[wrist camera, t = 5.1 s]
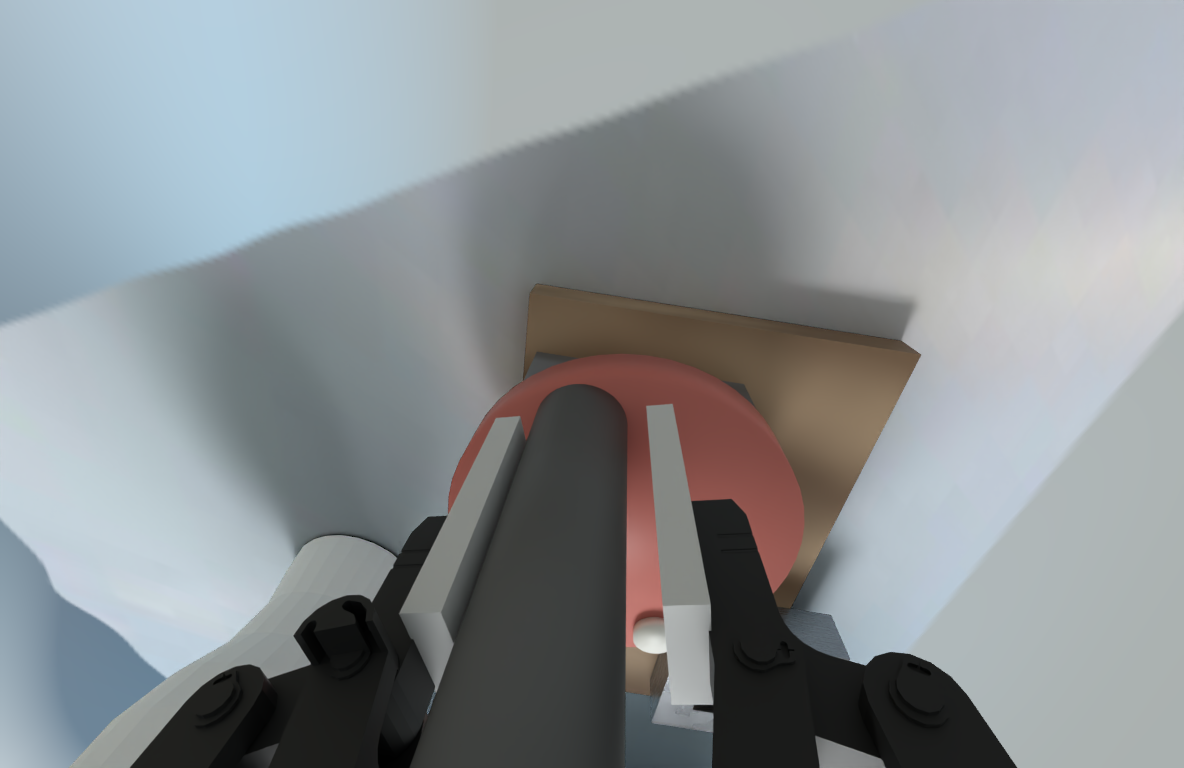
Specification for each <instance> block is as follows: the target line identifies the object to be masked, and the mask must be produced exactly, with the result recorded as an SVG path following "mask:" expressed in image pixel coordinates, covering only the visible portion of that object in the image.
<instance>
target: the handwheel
mask: <svg viewBox="0 0 1184 768" xmlns="http://www.w3.org/2000/svg"><path fill="white" fill-rule="evenodd" d="M664 404H673V408H674V413H675V419H676V424H677V429H678V435H679V440H680V445H681V450H682V456H683V461H684V466H685V471H686V477H687V482H688V487H689V493H690V498H691V501H701V500H719V499H732V500H733V501H734V502H735V503H736V504H737V505H738V506H739V507H740V508H741V509H742V510H743V511H744V512H745V513H746V515H747V518H748V521H749V524H750V527H751V530H752V533H753V536H754V539H755V542H756V545H757V548H758V552H759V554H760V556H761V559H762V562H763V565H764V568H765V571H766V574H767V577H768V580H769V583H770V586H771V589H772V592H773V593H774V592H775V591H776V590H777V589H778V587H779V586H780V585H781V583H782V582H783V581H784V579H785V578H786V577H787V575H788V574H789V572H790V570H791V568H792V566H793V564H794V562H795V561H796V558H797V555H798V552H799V549H800V546H801V544H802V538H803V531H804V504H803V500H802V495H801V490H800V487H799V484H798V482H797V479H796V477H795V475H794V472H793V470H792V468H791V466H790V464H789V462H788V460H787V458H786V456H785V454H784V452H783V450H782V448H781V446H780V444H779V442H778V440H777V438H776V437H775V435H774V433H773V432H772V430H771V428H770V427H769V425H768V424H767V422H766V420H765V419H764V418H763V417H762V415H761V414H760V413H759V412H758V411H757V410H756V408H755V407H754V406H753V405H752V404H751V403H750V402H749V401H748V400H747V399H745V398H744V397H743V396H742V395H741V394H740V393H738V392H737V391H736V390H735V389H733V388H732V387H730V386H729V385H727V384H726V383H724V382H722V381H721V380H719V379H718V378H716V377H714V376H712V375H710V374H708V373H706V372H703V371H701V370H699V369H697V368H695V367H692V366H689V365H686V364H683V363H679V362H676V361H673V360H669V359H664V358H659V357H653V356H648V355H635V354H608V355H595V356H590V357H584V358H579V359H574V360H570V361H567V362H564V363H561V364H558V365H554V366H551V367H549V368H547V369H545V370H543V371H541V372H538V373H536V374H534V375H532V376H530V377H529V378H527V379H526V380H524V381H522V382H521V383H519V384H518V385H516V386H515V387H513V388H512V389H511V390H510V391H509V392H507V393H506V394H505V395H504V396H503V397H502V398H500V399H499V400H498V401H497V402H496V404H495V405H494V406H493V407H492V408H491V409H490V411H489V412H488V413H487V414H486V416H485V417H484V419H483V420H482V422H481V424H480V425H479V427H478V429H477V430H476V432H475V434H474V436H473V437H472V439H471V441H470V443H469V445H468V446H467V448H466V450H465V452H464V454H463V456H462V457H461V459H460V461H459V463H458V466H457V468H456V471H455V473H454V476H453V478H452V483H451V487H450V492H449V501H448V514H449V512H450V510H451V508H452V506H453V504H454V502H455V500H456V498H457V496H458V494H459V492H460V490H461V488H462V486H463V483H464V481H465V479H466V477H467V475H468V473H469V471H470V469H471V467H472V465H473V463H474V461H475V459H476V457H477V455H478V453H479V451H480V449H481V447H482V445H483V443H484V441H485V439H486V437H487V435H488V433H489V431H490V429H491V427H492V425H493V423H494V421H495V419H496V418H502V417H515V416H520V417H521V421H522V425H523V430H524V434H525V438H526V444H525V446H524V449H523V452H522V455H521V458H520V460H519V463H518V466H517V469H516V471H515V474H514V477H513V480H512V483H511V485H510V488H509V491H508V494H507V497H506V499H505V502H504V505H503V508H502V511H501V513H500V516H499V519H498V522H497V525H496V527H495V530H494V533H493V536H492V539H491V541H490V544H489V547H488V550H487V553H486V555H485V558H484V561H483V564H482V567H481V569H480V572H479V575H478V578H477V581H476V583H475V586H474V589H473V592H472V595H471V597H470V600H469V603H468V606H467V608H466V611H465V614H464V617H463V620H462V622H461V625H460V628H459V631H458V634H457V636H456V639H455V642H454V645H453V648H452V650H451V653H450V656H449V659H448V662H447V664H446V667H445V670H444V673H443V676H442V678H441V681H440V684H439V687H438V690H437V692H436V695H435V698H434V701H433V704H432V706H431V709H430V712H429V715H428V718H427V720H426V723H425V726H424V729H423V732H422V734H421V737H420V740H419V743H418V745H417V748H416V751H415V754H414V757H413V759H412V762H411V765H410V768H625V691H626V647H637V648H639V649H640V650H642V651H644V652H647V653H653V654H660V653H665V652H667V649H666V637H665V626H664V615H663V604H662V592H661V580H660V567H659V555H658V543H657V531H656V519H655V507H654V494H653V482H652V470H651V458H650V446H649V434H648V421H647V409H646V406H652V405H664Z"/></svg>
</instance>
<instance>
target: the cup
mask: <svg viewBox="0 0 1184 768" xmlns="http://www.w3.org/2000/svg"><path fill="white" fill-rule="evenodd" d="M396 559H397V558H396V557H395V556H394V555H393V554H392V553H390V552H389V551H387V550H385V549H384V548H382V547H380V546H378V545H376V544H375V543H372V542H369V541H366V540H363V539H360V538H356V537H350V536H344V535H333V536H324V537H320V538H317V539H313V540H312V541H310V542H309V543H307V544H306V545H304V546H303V547H302V549H301V550H300V552H299V553H298V555H297V556H296V558H295V559H294V561H293V562H292V564H291V566H290V567H289V569H288V570H287V572H286V573H285V575H284V577H283V579H282V580H281V582H280V584H279V586H278V587H277V589H276V591H275V593H274V594H273V596H272V598H271V600H270V601H269V603H268V604H267V605H266V606H265V607H264V608H263V609H262V610H261V611H260V612H259V613H258V614H257V615H256V616H255V617H254V618H253V619H252V620H251V621H250V622H249V623H248V624H247V625H246V626H245V627H244V628H243V629H242V630H241V631H240V632H239V633H238V634H237V635H236V636H235V637H233V638H232V639H231V640H230V641H229V642H228V643H226V644H224V645H223V646H221V647H219V648H217V649H216V650H214V651H212V652H210V653H209V654H207V655H205V656H203V657H202V658H200V659H198V660H196V661H195V662H193V663H191V664H189V665H188V666H186V667H184V668H183V669H181V670H179V671H178V672H176V673H174V674H173V675H171V676H170V677H169V678H167V679H166V680H165V681H164V682H162V683H161V684H160V685H158V686H157V687H156V688H154V689H153V690H152V691H150V692H149V693H148V694H147V695H145V696H144V697H143V698H141V699H140V700H139V701H137V702H136V703H135V704H133V705H132V706H131V707H130V708H128V709H127V710H126V711H124V712H123V713H122V714H120V715H119V716H118V717H116V718H115V719H114V720H113V721H111V722H110V724H109V725H108V726H107V727H106V728H105V729H104V730H103V731H102V732H101V733H100V735H99V736H98V737H97V738H96V739H95V740H94V741H93V742H92V743H91V744H90V745H89V746H88V748H87V749H86V750H85V751H84V752H83V753H82V754H81V755H80V756H79V757H78V758H77V760H76V761H75V762H74V763H73V764H72V765H71V766H70V767H69V768H130V767H131V765H132V764H133V763H134V762H135V761H136V760H137V758H138V757H139V756H140V755H141V754H142V752H143V751H144V750H145V749H146V748H147V747H148V745H149V744H150V743H151V742H152V741H153V740H154V738H155V737H156V736H157V735H158V734H159V732H160V731H161V730H162V729H163V728H164V727H165V725H166V724H167V723H168V722H169V721H170V719H171V718H172V717H173V716H174V715H175V714H176V712H177V711H178V710H179V709H180V708H181V706H182V705H183V704H184V703H185V702H186V701H187V700H188V699H189V698H190V697H191V696H192V695H193V694H194V693H195V692H196V691H197V690H198V689H199V688H200V687H201V686H202V685H204V684H205V683H207V682H208V681H209V680H211V679H212V678H214V677H215V676H217V675H218V674H220V673H222V672H224V671H226V670H229V669H231V668H233V667H235V666H241V665H248V664H251V665H254V666H257V667H260V669H261V670H262V671H263V673H264V674H265V676H266V677H267V678H268V679H269V678H272V677H275V676H278V675H281V674H284V673H287V672H290V671H293V670H296V669H299V668H302V667H305V666H308V665H310V664H311V663H310V661H309V660H308V658H307V657H306V655H305V654H304V652H303V650H302V649H301V647H300V646H299V644H298V643H297V641H296V640H295V638H294V636H293V635H294V634H295V632H296V631H297V630H298V628H299V627H300V625H301V624H302V622H303V621H304V620H305V619H307V618H308V617H309V616H310V615H311V614H312V613H313V612H314V611H315V610H316V609H318V608H320V607H321V606H323V605H325V604H326V603H328V602H330V601H332V600H334V599H337V598H340V597H343V596H346V595H362V596H364V597H366V598H369V599H370V600H371V602H372V601H373V600H374V598H375V596H376V594H377V592H378V591H379V589H380V587H381V585H382V584H383V582H384V580H385V578H386V577H387V575H388V573H389V571H390V570H391V569H393V564H394V563H395V561H396Z"/></svg>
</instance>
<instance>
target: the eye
mask: <svg viewBox="0 0 1184 768" xmlns="http://www.w3.org/2000/svg"><path fill="white" fill-rule="evenodd" d="M778 610H779V613H780V615H781V617H782V619H783V621H784V623H785V624H786V625H787V627H788V628H789V629H790V630H791V632H792V633H793V634H794V635H795V636H797V637H798V638H799V639H800V640H801V641H802V642H803V643H805V644H807V645H808V646H810V647H812V648H813V649H815V650H817V651H820V652H822V653H825V654H828V655H830V656H834V657H837V658H841V659H844V660H848V661H849V660H850V658H849V655H848V653H847V651H846V649H845V646H844V644H843V642H842V639H841V637H840V635H839V632H838V630H837V628H836V626H835V623H834V621H833V619H832V616H831V615H827V614H821V613H815V612H809V611H802V610H796V609H790V608H783V607H778ZM650 702H651V723H655V724H661V725H667V726H673V727H680V728H686V729H692V730H699V731H705V732H711V733H713V709H714V705H672V704H671V693H670V682H669V671H668V660H667V652H665V653H660V654H658V657H657V660H656V663H655V666H654V669H653V672H652V674H651V677H650Z"/></svg>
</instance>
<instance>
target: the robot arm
mask: <svg viewBox="0 0 1184 768" xmlns="http://www.w3.org/2000/svg"><path fill="white" fill-rule="evenodd" d="M646 409H647V421H648V434H649V446H650V458H651V470H652V482H653V494H654V507H655V519H656V531H657V543H658V555H659V567H660V580H661V592H662V604H663V615H664V626H665V637H666V649H667V660H668V671H669V682H670V693H671V704H672V705H714V709H713V753H712V768H1017V767H1016V765H1015V764H1014V762H1013V761H1012V760H1011V758H1010V757H1009V755H1008V754H1007V752H1006V751H1005V749H1004V748H1003V747H1002V745H1001V743H1000V742H999V741H998V739H997V738H996V736H995V735H994V733H993V732H992V730H991V729H990V727H989V726H988V725H987V723H986V722H985V720H984V719H983V717H982V716H981V714H980V713H979V711H978V710H977V708H976V707H975V706H974V704H973V703H972V701H971V700H970V698H969V697H968V696H967V694H966V693H965V692H964V691H963V690H962V689H961V687H960V686H959V685H958V684H957V683H956V682H955V681H954V680H953V679H952V678H951V676H949V675H948V674H946V673H945V672H943V671H942V670H941V669H939V668H938V667H936V666H935V665H934V664H932V663H931V662H928V661H925V660H923V659H920V658H918V657H916V656H913V655H911V654H904V653H895V652H889V653H885V654H881V655H878V656H875V657H874V658H873V659H872V660H871V661H870V662H869V663H868V664H867V665H866V666H865V665H862V664H858V663H855V662H851V661H848V660H844V659H841V658H837V657H834V656H830V655H828V654H825V653H822V652H820V651H817V650H815V649H813V648H812V647H810V646H808V645H807V644H805V643H803V642H802V641H801V640H800V639H799V638H798V637H797V636H795V635H794V634H793V633H792V632H791V630H790V629H789V628H788V627H787V625H786V624H785V623H784V621H783V619H782V617H781V615H780V613H779V610H778V607H777V604H776V601H775V598H774V595H773V592H772V589H771V586H770V583H769V580H768V577H767V574H766V571H765V568H764V565H763V562H762V559H761V556H760V554H759V552H758V548H757V545H756V542H755V539H754V536H753V533H752V530H751V527H750V524H749V521H748V518H747V515H746V513H745V512H744V511H743V510H742V509H741V508H740V507H739V506H738V505H737V504H736V503H735V502H734V501H733V500H732V499H719V500H701V501H691V498H690V493H689V487H688V482H687V477H686V471H685V466H684V461H683V456H682V450H681V445H680V440H679V435H678V429H677V424H676V419H675V413H674V408H673V404H664V405H652V406H646ZM525 444H526V438H525V434H524V430H523V425H522V421H521V417H520V416H515V417H502V418H496V419H495V421H494V423H493V425H492V427H491V429H490V431H489V433H488V435H487V437H486V439H485V441H484V443H483V445H482V447H481V449H480V451H479V453H478V455H477V457H476V459H475V461H474V463H473V465H472V467H471V469H470V471H469V473H468V475H467V477H466V479H465V481H464V483H463V486H462V488H461V490H460V492H459V494H458V496H457V498H456V500H455V502H454V504H453V506H452V508H451V510H450V512H449V514H448V516H436V517H427V518H426V519H425V520H424V521H423V522H422V523H421V524H420V525H419V526H418V527H417V528H416V529H415V530H414V531H413V532H412V533H411V534H410V536H409V538H408V540H407V541H406V543H405V545H404V547H403V549H402V550H401V551H402V553H401V554H399V556H398V557H397V559H396V561H395V563H394V564H393V569H391V570H390V571H389V573H388V575H387V577H386V578H385V580H384V582H383V584H382V585H381V587H380V589H379V591H378V592H377V594H376V596H375V598H374V600H373V601H372V602H371V600H370V599H369V598H366V597H364V596H362V595H346V596H343V597H340V598H337V599H334V600H332V601H330V602H328V603H326V604H325V605H323V606H321V607H320V608H318V609H316V610H315V611H314V612H313V613H312V614H311V615H310V616H309V617H308V618H307V619H305V620H304V621H303V622H302V624H301V625H300V627H299V628H298V630H297V631H296V632H295V634H294V635H293V636H294V638H295V640H296V641H297V643H298V644H299V646H300V647H301V649H302V650H303V652H304V654H305V655H306V657H307V658H308V660H309V661H310V663H311V664H310V665H308V666H305V667H302V668H299V669H296V670H293V671H290V672H287V673H284V674H281V675H278V676H275V677H272V678H269V679H268V678H267V677H266V676H265V674H264V673H263V671H262V670H261V669H260V667H257V666H254V665H251V664H248V665H241V666H235V667H233V668H231V669H229V670H226V671H224V672H222V673H220V674H218V675H217V676H215V677H214V678H212V679H211V680H209V681H208V682H207V683H205V684H204V685H202V686H201V687H200V688H199V689H198V690H197V691H196V692H195V693H194V694H193V695H192V696H191V697H190V698H189V699H188V700H187V701H186V702H185V703H184V704H183V705H182V706H181V708H180V709H179V710H178V711H177V712H176V714H175V715H174V716H173V717H172V718H171V719H170V721H169V722H168V723H167V724H166V725H165V727H164V728H163V729H162V730H161V731H160V732H159V734H158V735H157V736H156V737H155V738H154V740H153V741H152V742H151V743H150V744H149V745H148V747H147V748H146V749H145V750H144V751H143V752H142V754H141V755H140V756H139V757H138V758H137V760H136V761H135V762H134V763H133V764H132V765H131V767H130V768H410V765H411V762H412V759H413V757H414V754H415V751H416V748H417V745H418V743H419V740H420V737H421V734H422V732H423V729H424V726H425V723H426V720H427V718H428V715H427V713H426V711H427V708H428V706H429V703H430V700H431V697H432V694H433V692H434V689H435V692H437V690H438V687H439V684H440V681H441V678H442V676H443V673H444V670H445V667H446V664H447V662H448V659H449V656H450V653H451V650H452V648H453V645H454V642H455V639H456V636H457V634H458V631H459V628H460V625H461V622H462V620H463V617H464V614H465V611H466V608H467V606H468V603H469V600H470V597H471V595H472V592H473V589H474V586H475V583H476V581H477V578H478V575H479V572H480V569H481V567H482V564H483V561H484V558H485V555H486V553H487V550H488V547H489V544H490V541H491V539H492V536H493V533H494V530H495V527H496V525H497V522H498V519H499V516H500V513H501V511H502V508H503V505H504V502H505V499H506V497H507V494H508V491H509V488H510V485H511V483H512V480H513V477H514V474H515V471H516V469H517V466H518V463H519V460H520V458H521V455H522V452H523V449H524V446H525Z"/></svg>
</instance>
